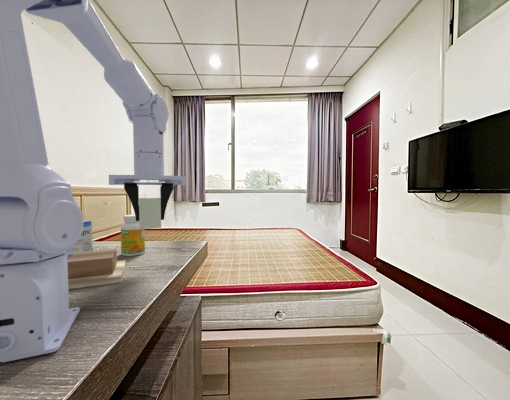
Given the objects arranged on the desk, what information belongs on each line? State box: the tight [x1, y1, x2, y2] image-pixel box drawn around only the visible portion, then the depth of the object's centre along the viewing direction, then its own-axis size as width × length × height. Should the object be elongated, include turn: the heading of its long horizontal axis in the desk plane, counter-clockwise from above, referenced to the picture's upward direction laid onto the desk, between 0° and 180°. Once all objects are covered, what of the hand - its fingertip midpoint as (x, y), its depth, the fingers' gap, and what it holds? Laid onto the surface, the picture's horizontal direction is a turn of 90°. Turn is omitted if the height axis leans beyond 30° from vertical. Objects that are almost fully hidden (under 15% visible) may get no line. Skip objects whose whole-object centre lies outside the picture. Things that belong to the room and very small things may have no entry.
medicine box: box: [67, 219, 94, 260], centre depth 58 cm, size 8×4×9 cm, turn 168°
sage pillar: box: [139, 197, 162, 230], centre depth 52 cm, size 4×4×6 cm
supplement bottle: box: [120, 214, 146, 257], centre depth 63 cm, size 5×5×10 cm
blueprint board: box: [67, 248, 127, 290], centre depth 47 cm, size 11×10×4 cm
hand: (150, 219), depth 53 cm, fingers closed on sage pillar, 4 cm apart
